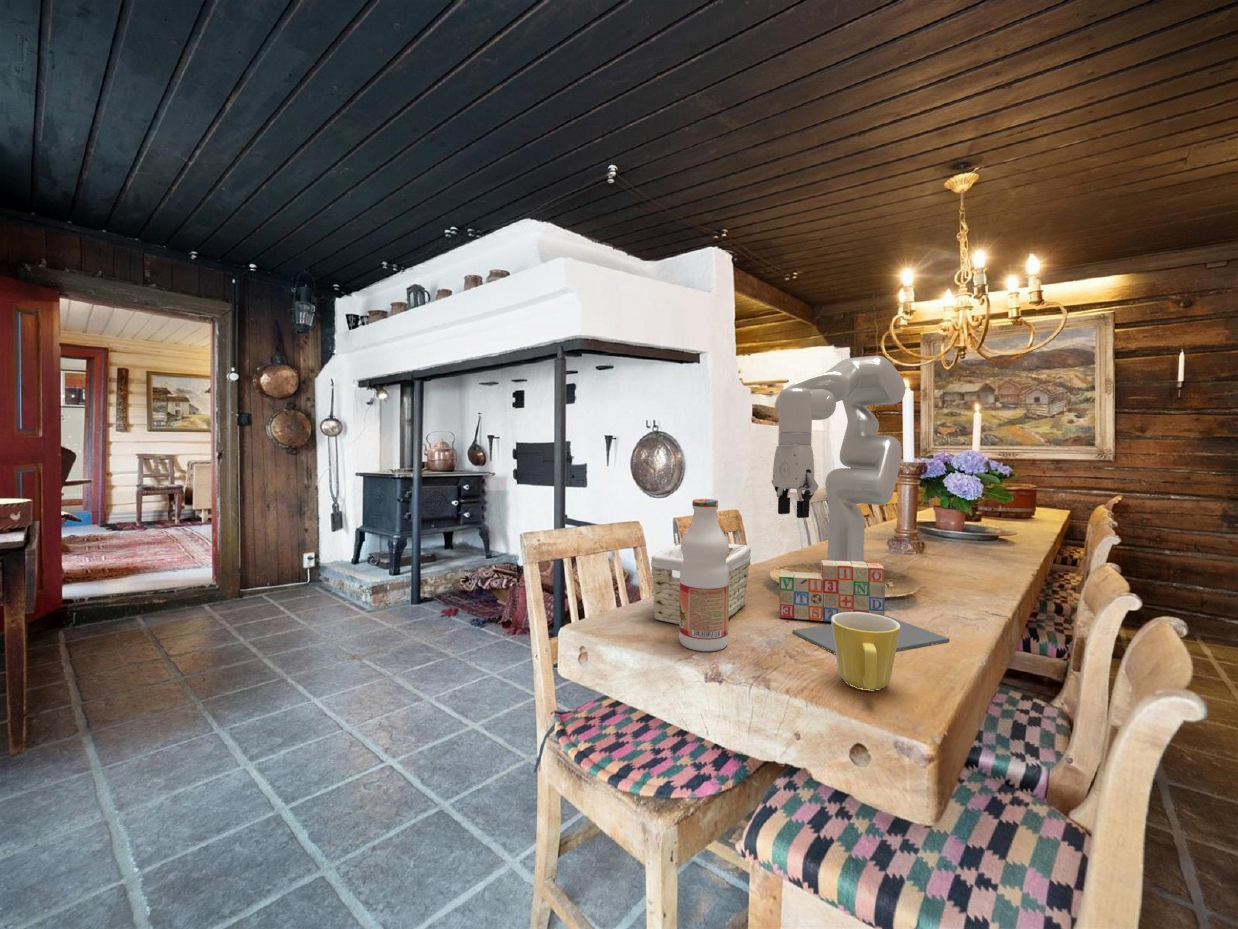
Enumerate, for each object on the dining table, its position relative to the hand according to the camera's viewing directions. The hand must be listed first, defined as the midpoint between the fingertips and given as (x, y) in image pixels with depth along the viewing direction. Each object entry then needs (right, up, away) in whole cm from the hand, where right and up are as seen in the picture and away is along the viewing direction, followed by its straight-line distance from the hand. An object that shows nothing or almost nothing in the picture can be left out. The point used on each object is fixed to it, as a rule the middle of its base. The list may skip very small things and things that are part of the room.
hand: (793, 515), depth 133 cm
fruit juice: (-25, -23, -25) cm, 42 cm away
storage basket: (-23, -22, -6) cm, 32 cm away
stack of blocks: (+5, -22, -11) cm, 25 cm away
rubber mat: (+9, -23, -21) cm, 32 cm away
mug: (-3, -24, -44) cm, 50 cm away
